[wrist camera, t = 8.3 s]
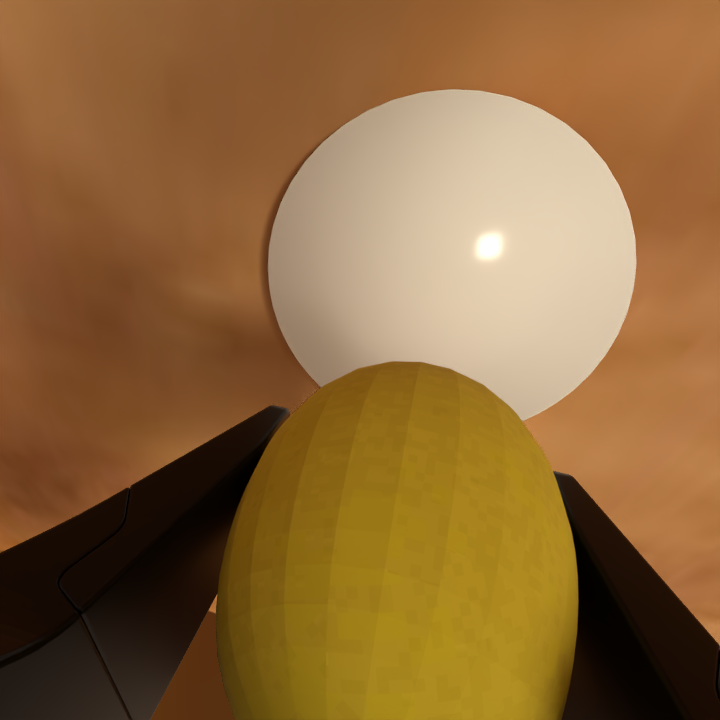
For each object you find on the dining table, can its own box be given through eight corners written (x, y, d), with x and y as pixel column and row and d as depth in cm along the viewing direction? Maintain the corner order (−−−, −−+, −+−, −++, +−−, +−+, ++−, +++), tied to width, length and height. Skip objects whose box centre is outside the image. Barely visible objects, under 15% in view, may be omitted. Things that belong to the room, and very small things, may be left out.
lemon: (444, 504, 12) (420, 966, 6) (285, 410, 12) (52, 799, 5) (589, 384, 9) (892, 1052, 3) (385, 251, 9) (140, 681, 2)
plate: (708, 121, 13) (726, 122, 12) (547, 450, 20) (551, 465, 19) (278, 66, 14) (266, 62, 14) (275, 388, 22) (268, 399, 21)
